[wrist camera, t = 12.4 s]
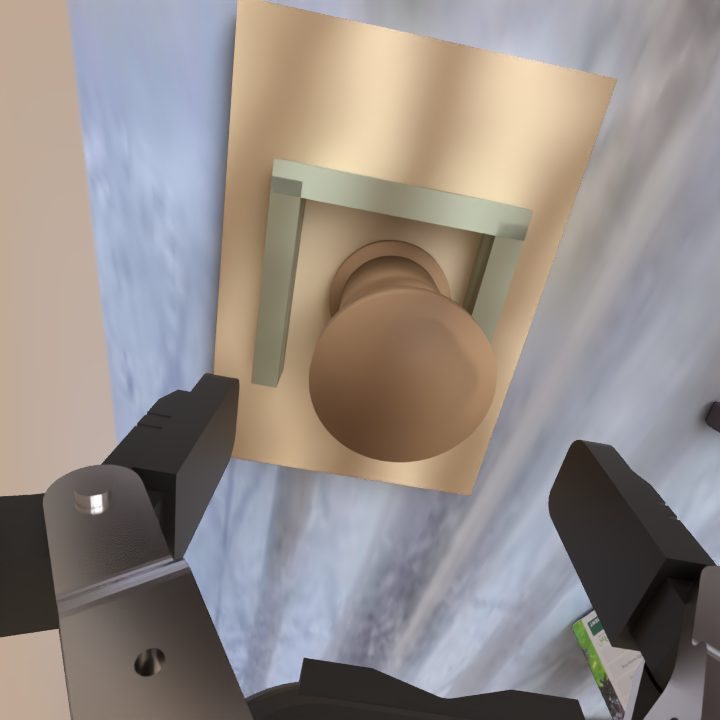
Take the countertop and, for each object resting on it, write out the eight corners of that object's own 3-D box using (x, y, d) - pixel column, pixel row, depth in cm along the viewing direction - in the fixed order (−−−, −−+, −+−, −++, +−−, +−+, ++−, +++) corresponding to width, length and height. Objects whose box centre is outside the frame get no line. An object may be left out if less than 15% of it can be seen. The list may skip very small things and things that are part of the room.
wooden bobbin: (462, 252, 21) (522, 313, 13) (432, 362, 23) (467, 474, 15) (341, 228, 21) (323, 277, 13) (322, 343, 23) (297, 447, 15)
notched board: (600, 84, 20) (645, 70, 17) (465, 479, 28) (478, 520, 25) (247, 6, 19) (222, -23, 16) (216, 438, 27) (196, 476, 24)
